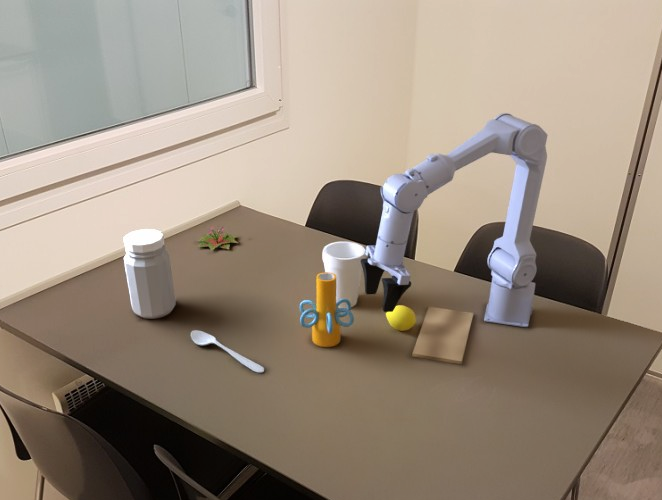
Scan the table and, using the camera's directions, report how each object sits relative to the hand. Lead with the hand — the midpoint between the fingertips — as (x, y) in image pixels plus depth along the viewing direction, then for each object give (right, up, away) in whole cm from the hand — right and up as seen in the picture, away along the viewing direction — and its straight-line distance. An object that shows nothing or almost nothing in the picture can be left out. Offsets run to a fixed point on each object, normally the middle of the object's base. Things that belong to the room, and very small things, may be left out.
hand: (378, 302), depth 139 cm
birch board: (+15, -7, +9) cm, 19 cm away
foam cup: (-6, +1, +22) cm, 23 cm away
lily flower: (-40, +18, +49) cm, 66 cm away
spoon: (-31, -11, +3) cm, 33 cm away
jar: (-49, -1, +19) cm, 53 cm away
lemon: (+6, -5, +12) cm, 14 cm away
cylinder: (-10, -8, +8) cm, 15 cm away
